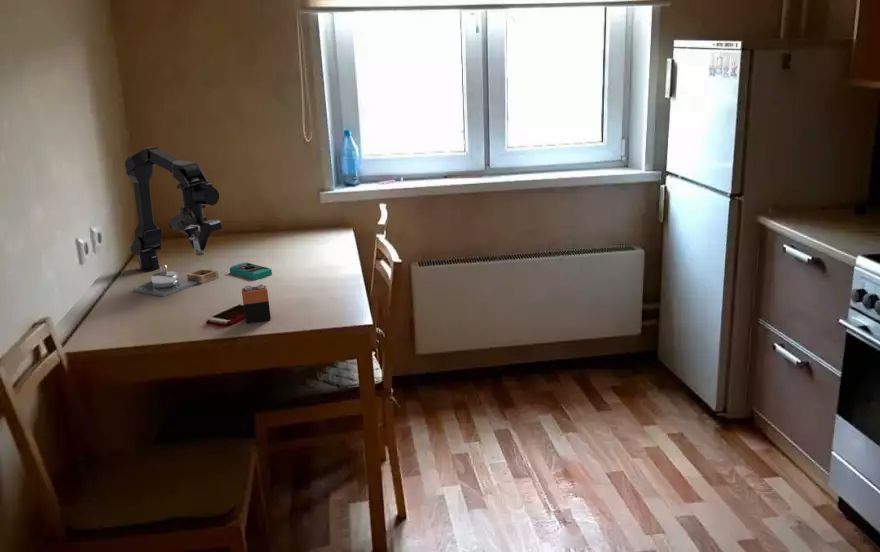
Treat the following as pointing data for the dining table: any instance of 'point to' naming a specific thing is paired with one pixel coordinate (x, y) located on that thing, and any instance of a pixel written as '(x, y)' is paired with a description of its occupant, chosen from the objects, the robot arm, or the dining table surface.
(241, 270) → the digital multimeter
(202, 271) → the key socket
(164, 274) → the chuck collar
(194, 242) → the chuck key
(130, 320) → the dining table surface
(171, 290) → the chuck base
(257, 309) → the battery
